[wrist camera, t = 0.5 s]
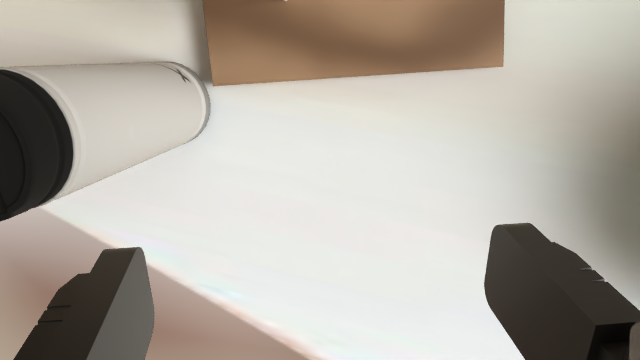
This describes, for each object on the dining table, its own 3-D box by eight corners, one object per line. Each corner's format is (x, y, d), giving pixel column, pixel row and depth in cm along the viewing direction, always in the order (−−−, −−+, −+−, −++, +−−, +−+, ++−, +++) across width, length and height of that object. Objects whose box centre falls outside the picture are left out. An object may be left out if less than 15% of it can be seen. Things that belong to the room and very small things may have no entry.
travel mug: (197, 48, 36) (-24, 41, 17) (220, 135, 37) (42, 220, 18) (122, 67, 37) (-166, 81, 18) (147, 150, 38) (-93, 247, 19)
